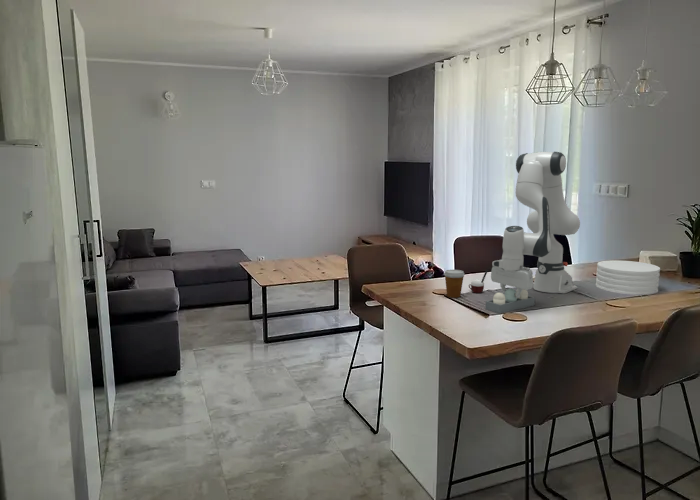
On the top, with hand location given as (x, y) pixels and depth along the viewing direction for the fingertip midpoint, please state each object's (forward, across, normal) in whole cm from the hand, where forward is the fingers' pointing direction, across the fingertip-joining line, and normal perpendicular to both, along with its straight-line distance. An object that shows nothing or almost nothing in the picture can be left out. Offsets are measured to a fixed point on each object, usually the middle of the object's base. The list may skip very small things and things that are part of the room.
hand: (510, 295), depth 233 cm
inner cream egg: (+5, 0, -7) cm, 9 cm away
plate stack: (+7, -6, -79) cm, 80 cm away
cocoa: (+6, +29, -10) cm, 31 cm away
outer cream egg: (+5, 0, +7) cm, 9 cm away
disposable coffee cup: (+6, +30, +4) cm, 31 cm away
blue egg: (+4, 0, 0) cm, 4 cm away
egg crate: (+6, 0, 0) cm, 6 cm away
